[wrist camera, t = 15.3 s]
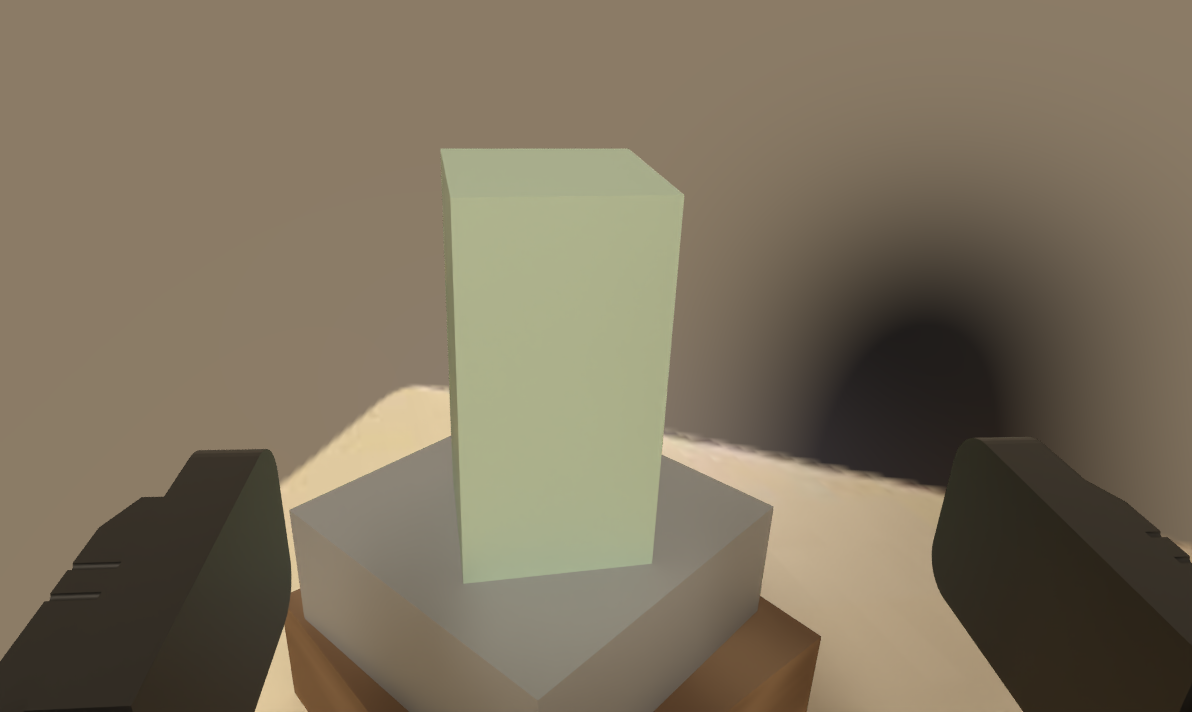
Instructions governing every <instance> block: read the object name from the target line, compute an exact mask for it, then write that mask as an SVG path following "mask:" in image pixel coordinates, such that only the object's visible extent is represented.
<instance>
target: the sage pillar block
mask: <svg viewBox="0 0 1192 712" xmlns="http://www.w3.org/2000/svg"><path fill="white" fill-rule="evenodd" d="M440 151H441V179H442V205H443V231H444V257H445V285H446V311H447V338H448V364H449V390H450V417H451V443H452V470H453V484H454V494H455V504H456V514H457V524H458V535H459V545H460V555H461V565H462V575H463V584H466V583H476V582H485V581H494V580H504V579H513V578H522V577H532V576H541V575H550V574H560V573H569V572H578V571H588V570H597V569H606V568H616V567H625V566H634V565H644V564H652V558H653V547H654V535H655V524H656V512H657V501H658V489H659V478H660V467H661V455H662V444H663V432H664V421H665V409H666V397H667V386H668V375H669V364H670V352H671V340H672V329H673V318H674V306H675V295H676V284H677V272H678V261H679V249H680V238H681V225H682V214H683V204H684V194H682V193H681V192H680V191H679V190H678V189H676V188H675V187H674V186H673V185H672V184H670V183H669V182H668V181H667V180H666V179H664V178H663V177H662V176H661V175H660V174H658V173H657V172H656V171H655V170H653V169H652V168H651V167H650V166H649V165H647V164H646V163H645V162H644V161H643V160H641V159H640V158H639V157H638V156H637V155H635V154H634V153H633V152H632V151H631V150H629V149H440Z"/></svg>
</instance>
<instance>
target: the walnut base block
mask: <svg viewBox="0 0 1192 712" xmlns="http://www.w3.org/2000/svg"><path fill="white" fill-rule="evenodd" d="M284 625H285V631H286V638H287V644H288V651H289V657H290V664H291V671H292V677H293V684H294V690H295V693H296V695H297V696H298V698H299V699H300V701H301V702H302V704H303V705H304V706H305V708H306V709H307V711H308V712H409V711H408V710H407V709H406V708H404V707H403V706H402V705H401V704H400V703H399V702H398V701H397V700H395V699H394V698H393V697H392V696H391V695H390V694H389V693H388V692H387V691H385V690H384V689H383V688H382V687H381V686H380V685H379V684H378V683H376V682H375V681H374V680H373V679H372V678H371V677H370V676H369V675H367V674H366V673H365V672H364V671H363V670H362V669H361V668H360V667H358V666H357V665H356V664H355V663H354V662H353V661H352V660H351V659H349V658H348V657H347V656H346V655H345V654H344V653H343V652H342V651H340V650H339V649H338V648H337V647H336V646H335V645H334V644H333V643H332V642H330V641H329V640H328V639H327V638H326V637H325V636H324V635H323V634H321V633H320V632H319V631H318V630H317V629H316V628H315V627H314V626H312V625H311V624H310V623H309V622H308V621H307V620H306V619H305V618H304V612H303V604H302V597H301V590H300V589H298V590H296V591H294V592H291V594H290V602H289V608H288V613H287V617H286V621H285V624H284ZM820 640H821V636H819V635H818V634H816V633H815V632H813V631H812V630H810V629H809V628H807V627H806V626H804V625H803V624H801V623H800V622H798V621H797V620H795V619H794V618H792V617H791V616H789V615H788V614H786V613H785V612H783V611H782V610H780V609H779V608H777V607H776V606H774V605H773V604H771V603H770V602H768V601H767V600H765V599H764V598H762V597H761V596H760V597H759V604H758V610H757V612H756V613H755V614H754V615H753V616H751V617H750V618H749V619H748V620H747V621H746V622H745V623H744V624H743V625H742V626H741V627H740V628H739V629H738V630H737V631H736V632H735V633H734V634H733V635H732V636H731V637H730V638H729V639H728V640H727V641H726V642H725V643H724V644H723V645H722V646H721V647H719V648H718V649H717V650H716V651H715V652H714V653H713V654H712V655H711V656H710V657H709V658H708V659H707V660H706V661H705V662H704V663H703V664H702V665H701V666H700V667H699V668H698V669H697V670H696V671H695V672H694V673H693V674H692V675H691V676H690V677H689V678H687V679H686V680H685V681H684V682H683V683H682V684H681V685H680V686H679V687H678V688H677V689H676V690H675V691H674V692H673V693H672V694H671V695H670V696H669V697H668V698H667V699H666V700H665V701H664V702H663V703H662V704H661V705H660V706H659V707H658V708H656V709H655V710H654V711H653V712H806V711H807V706H808V701H809V696H810V691H811V686H812V680H813V675H814V670H815V665H816V660H817V655H818V650H819V645H820Z"/></svg>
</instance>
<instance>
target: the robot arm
mask: <svg viewBox="0 0 1192 712" xmlns="http://www.w3.org/2000/svg"><path fill="white" fill-rule="evenodd" d="M932 566H933V572H934V577H935V580H936V583H937V586H938V589H939V591H940V593H941V595H942V596H943V598H944V599H945V601H946V602H947V604H948V605H949V607H950V608H951V609H952V611H953V612H954V614H955V615H956V617H957V618H958V619H959V621H960V622H961V624H962V625H963V626H964V628H965V629H966V631H967V632H968V634H969V635H970V636H971V638H972V639H973V641H974V642H975V644H976V645H977V646H978V648H979V649H980V651H981V652H982V654H983V655H984V656H985V658H986V659H987V661H988V662H989V664H990V665H991V666H992V668H993V669H994V671H995V672H996V673H997V675H998V676H999V678H1000V679H1001V681H1002V682H1003V683H1004V685H1005V686H1006V688H1007V689H1008V691H1009V692H1010V693H1011V695H1012V696H1013V698H1014V699H1015V701H1016V702H1017V703H1018V705H1019V706H1020V708H1021V709H1022V711H1023V712H1192V563H1191V562H1190V556H1189V555H1188V554H1187V553H1185V552H1184V551H1183V550H1182V549H1181V548H1179V547H1178V546H1177V545H1176V544H1175V543H1174V542H1172V541H1171V540H1170V539H1169V538H1168V537H1161V535H1160V531H1159V530H1158V529H1157V528H1156V527H1155V526H1153V525H1152V524H1151V523H1150V522H1149V521H1148V520H1146V519H1145V518H1144V517H1143V516H1142V515H1141V514H1139V513H1138V512H1137V511H1136V510H1134V508H1132V507H1131V506H1130V505H1129V504H1128V503H1126V502H1125V501H1123V500H1122V499H1120V498H1118V497H1116V496H1114V495H1112V494H1110V493H1108V492H1106V491H1105V490H1103V489H1101V488H1099V487H1097V486H1096V485H1094V484H1092V483H1090V482H1088V481H1086V480H1085V479H1083V478H1082V477H1081V476H1080V475H1079V474H1078V473H1077V472H1075V471H1074V470H1073V469H1072V468H1071V467H1070V466H1068V465H1067V464H1066V463H1065V462H1064V461H1063V460H1062V459H1060V458H1059V457H1058V456H1057V455H1056V454H1055V453H1053V452H1052V451H1051V450H1050V449H1049V448H1048V447H1047V446H1046V445H1044V444H1043V443H1042V442H1041V441H1039V440H1038V439H1035V438H1032V437H1006V438H1005V437H1004V438H1003V437H1002V438H970V439H967V440H965V441H964V442H963V443H962V444H961V445H960V446H959V448H958V450H957V452H956V455H955V458H954V462H953V465H952V469H951V474H950V478H949V481H948V485H947V489H946V493H945V497H944V501H943V505H942V509H941V513H940V517H939V521H938V525H937V529H936V533H935V537H934V541H933V546H932ZM50 594H51V598H50V601H46V602H44V603H43V604H42V606H41V607H40V608H39V610H38V611H37V612H36V614H35V615H34V616H33V618H32V619H31V620H30V622H29V623H28V624H27V626H26V627H25V629H24V630H23V631H22V633H21V634H20V635H19V637H18V638H17V639H16V641H15V642H14V644H13V645H12V646H11V648H10V649H9V650H8V652H7V653H6V654H5V656H4V657H3V659H2V660H1V661H0V712H255V709H256V706H257V703H258V700H259V697H260V694H261V691H262V688H263V685H264V682H265V679H266V676H267V674H268V671H269V668H270V665H271V662H272V659H273V656H274V653H275V650H276V647H277V644H278V641H279V638H280V636H281V633H282V630H283V627H284V624H285V621H286V617H287V613H288V608H289V602H290V594H291V562H290V555H289V548H288V541H287V534H286V527H285V520H284V513H283V506H282V499H281V492H280V485H279V478H278V471H277V466H276V462H275V459H274V456H273V454H272V452H271V451H270V450H268V449H252V450H199V451H196V452H194V453H193V455H192V456H191V457H190V458H189V460H188V461H187V463H186V465H185V466H184V467H183V469H182V470H181V472H180V473H179V475H178V477H177V478H176V479H175V481H174V482H173V484H172V486H171V487H170V489H169V490H168V492H167V493H166V495H165V496H164V497H141V498H140V499H139V500H137V501H136V502H135V503H133V504H132V505H130V506H129V507H127V508H126V509H125V510H123V511H122V512H121V513H119V514H118V515H116V516H115V517H113V518H112V519H110V520H109V521H108V522H106V523H105V524H104V525H102V526H101V527H99V529H98V530H97V531H96V532H95V534H94V535H93V536H92V538H91V539H90V540H89V542H88V543H87V545H86V546H85V547H84V549H83V550H82V551H81V553H80V554H79V556H78V557H77V558H76V560H75V561H74V562H73V569H72V570H68V571H67V572H66V573H65V574H64V576H63V577H62V578H61V580H60V581H59V582H58V584H57V585H56V587H55V588H54V589H53V591H52V592H51V593H50Z"/></svg>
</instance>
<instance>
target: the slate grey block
mask: <svg viewBox="0 0 1192 712" xmlns="http://www.w3.org/2000/svg"><path fill="white" fill-rule="evenodd" d="M289 511H290V518H291V525H292V533H293V540H294V547H295V554H296V561H297V568H298V576H299V583H300V590H301V597H302V604H303V612H304V618H305V619H306V620H307V621H308V622H309V623H310V624H311V625H312V626H314V627H315V628H316V629H317V630H318V631H319V632H320V633H321V634H323V635H324V636H325V637H326V638H327V639H328V640H329V641H330V642H332V643H333V644H334V645H335V646H336V647H337V648H338V649H339V650H340V651H342V652H343V653H344V654H345V655H346V656H347V657H348V658H349V659H351V660H352V661H353V662H354V663H355V664H356V665H357V666H358V667H360V668H361V669H362V670H363V671H364V672H365V673H366V674H367V675H369V676H370V677H371V678H372V679H373V680H374V681H375V682H376V683H378V684H379V685H380V686H381V687H382V688H383V689H384V690H385V691H387V692H388V693H389V694H390V695H391V696H392V697H393V698H394V699H395V700H397V701H398V702H399V703H400V704H401V705H402V706H403V707H404V708H406V709H407V710H408V711H409V712H653V711H654V710H655V709H656V708H658V707H659V706H660V705H661V704H662V703H663V702H664V701H665V700H666V699H667V698H668V697H669V696H670V695H671V694H672V693H673V692H674V691H675V690H676V689H677V688H678V687H679V686H680V685H681V684H682V683H683V682H684V681H685V680H686V679H687V678H689V677H690V676H691V675H692V674H693V673H694V672H695V671H696V670H697V669H698V668H699V667H700V666H701V665H702V664H703V663H704V662H705V661H706V660H707V659H708V658H709V657H710V656H711V655H712V654H713V653H714V652H715V651H716V650H717V649H718V648H719V647H721V646H722V645H723V644H724V643H725V642H726V641H727V640H728V639H729V638H730V637H731V636H732V635H733V634H734V633H735V632H736V631H737V630H738V629H739V628H740V627H741V626H742V625H743V624H744V623H745V622H746V621H747V620H748V619H749V618H750V617H751V616H753V615H754V614H755V613H756V612H757V610H758V604H759V597H760V591H761V585H762V578H763V572H764V565H765V559H766V552H767V546H768V539H769V533H770V526H771V520H772V514H773V506H771V505H769V504H767V503H765V502H762V501H760V500H758V499H756V498H754V497H752V496H750V495H747V494H745V493H743V492H741V491H739V490H737V489H734V488H732V487H730V486H728V485H726V484H724V483H722V482H719V481H717V480H715V479H713V478H711V477H709V476H707V475H704V474H702V473H700V472H698V471H696V470H694V469H691V468H689V467H687V466H685V465H683V464H681V463H679V462H676V461H674V460H672V459H670V458H668V457H666V456H663V455H661V467H660V478H659V489H658V501H657V512H656V524H655V535H654V547H653V558H652V564H644V565H634V566H625V567H616V568H606V569H597V570H588V571H578V572H569V573H560V574H550V575H541V576H532V577H522V578H513V579H504V580H494V581H485V582H476V583H466V584H463V575H462V565H461V555H460V545H459V535H458V524H457V514H456V504H455V494H454V484H453V470H452V443H451V436H449V437H447V438H445V439H443V440H441V441H438V442H436V443H434V444H432V445H430V446H428V447H425V448H423V449H421V450H419V451H417V452H414V453H412V454H410V455H408V456H406V457H404V458H401V459H399V460H397V461H395V462H393V463H391V464H388V465H386V466H384V467H382V468H380V469H378V470H375V471H373V472H371V473H369V474H367V475H364V476H362V477H360V478H358V479H356V480H354V481H351V482H349V483H347V484H345V485H343V486H341V487H338V488H336V489H334V490H332V491H330V492H328V493H325V494H323V495H321V496H319V497H317V498H314V499H312V500H310V501H308V502H306V503H304V504H301V505H299V506H297V507H295V508H293V509H291V510H289Z"/></svg>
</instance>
